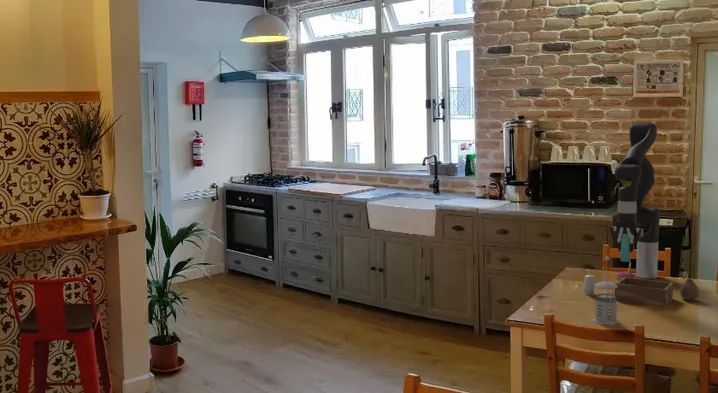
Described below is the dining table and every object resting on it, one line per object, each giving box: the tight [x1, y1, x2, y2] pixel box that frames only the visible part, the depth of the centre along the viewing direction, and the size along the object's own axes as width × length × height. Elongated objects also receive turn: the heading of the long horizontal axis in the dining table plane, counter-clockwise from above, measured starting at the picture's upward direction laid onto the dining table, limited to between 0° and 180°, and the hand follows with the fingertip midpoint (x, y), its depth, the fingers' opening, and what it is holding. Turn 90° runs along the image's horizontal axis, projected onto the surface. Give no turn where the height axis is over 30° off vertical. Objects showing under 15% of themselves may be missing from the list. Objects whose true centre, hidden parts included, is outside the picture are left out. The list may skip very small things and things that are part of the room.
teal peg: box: [619, 233, 632, 263], centre depth 304 cm, size 4×4×12 cm
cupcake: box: [615, 261, 637, 282], centre depth 321 cm, size 9×8×12 cm
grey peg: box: [583, 274, 595, 296], centre depth 311 cm, size 4×4×8 cm
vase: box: [679, 278, 699, 302], centre depth 298 cm, size 7×7×9 cm
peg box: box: [614, 277, 674, 308], centre depth 300 cm, size 14×20×7 cm
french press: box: [591, 256, 620, 326], centre depth 270 cm, size 10×12×25 cm
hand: (625, 251), depth 304 cm, fingers closed on teal peg, 4 cm apart
